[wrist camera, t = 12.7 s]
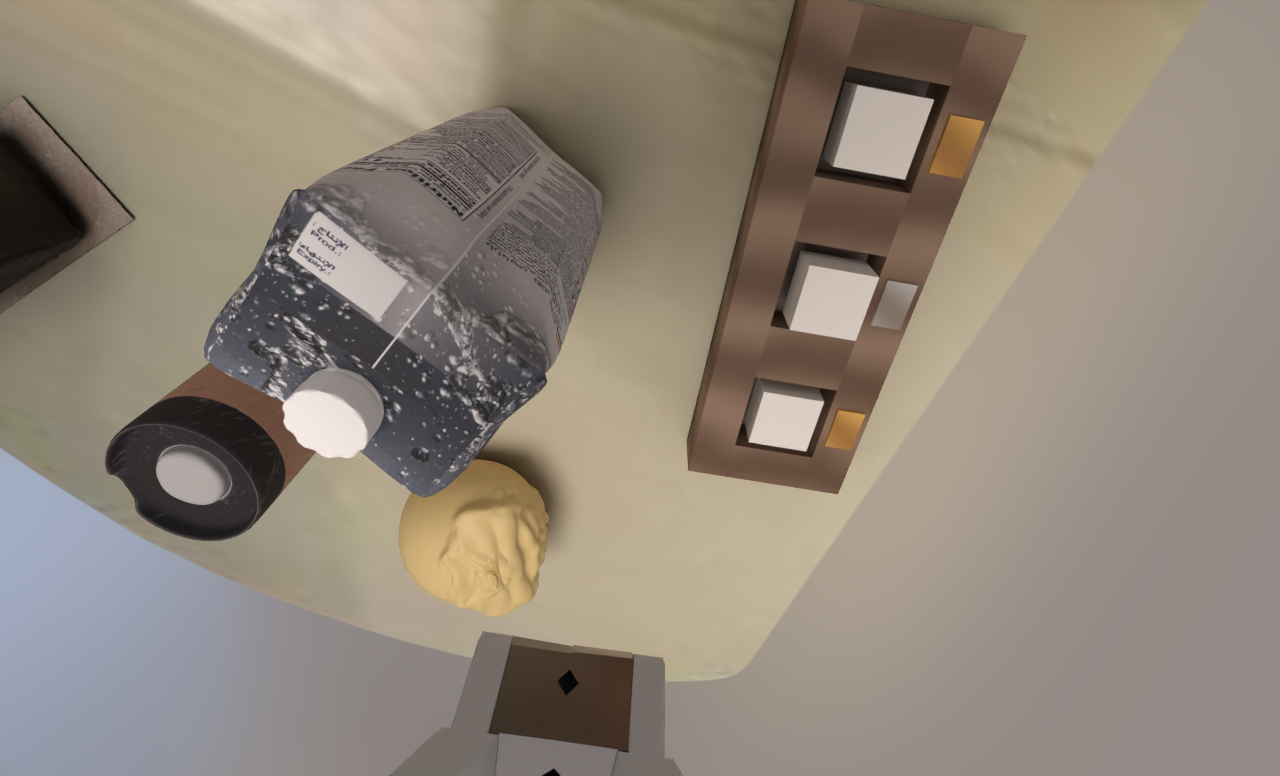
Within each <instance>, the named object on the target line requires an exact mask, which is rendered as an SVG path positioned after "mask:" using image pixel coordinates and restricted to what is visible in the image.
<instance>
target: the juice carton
mask: <svg viewBox="0 0 1280 776" xmlns="http://www.w3.org/2000/svg"><path fill="white" fill-rule="evenodd" d="M602 207H603V199H602V194H601V192H600V191H599V190H598V189H597V188H596V187H595V186H594V185H593V184H592V183H590V182H589V181H588V180H587V179H586V178H585V177H584V176H583V175H581V174H580V173H579V172H578V171H577V170H575V169H574V168H573V167H571V166H570V165H569V164H568V163H566V162H565V161H564V160H563V159H561V158H560V157H559V156H558V155H557V154H555V153H554V152H553V151H552V150H551V149H550V148H549V147H548V146H547V145H546V144H545V143H544V142H543V141H542V140H541V139H540V138H539V137H538V136H537V135H536V134H535V133H534V132H533V131H532V130H531V129H530V128H529V127H528V126H527V125H526V124H525V123H524V122H523V121H522V120H520V119H519V118H518V117H517V116H516V115H515V114H514V113H512V112H511V111H510V110H509V109H507V108H505V107H497V108H490V109H484V110H478V111H474V112H470V113H467V114H464V115H462V116H459V117H457V118H454V119H452V120H450V121H447V122H445V123H443V124H440V125H438V126H436V127H433V128H431V129H429V130H426V131H424V132H422V133H419V134H417V135H415V136H412V137H410V138H408V139H405V140H403V141H401V142H398V143H396V144H394V145H392V146H389V147H387V148H385V149H382V150H380V151H378V152H375V153H373V154H371V155H368V156H366V157H364V158H362V159H359V160H357V161H355V162H353V163H350V164H348V165H346V166H344V167H341V168H339V169H337V170H335V171H333V172H331V173H329V174H327V175H325V176H323V177H322V178H321V179H319V180H318V181H316V182H315V183H313V184H312V185H310V186H309V187H308V188H307V189H306V190H301V189H297V190H293V191H292V192H291V194H290V195H289V197H288V199H287V200H286V202H285V204H284V206H283V208H282V210H281V212H280V215H279V217H278V219H277V221H276V224H275V226H274V228H273V231H272V233H271V235H270V238H269V240H268V242H267V245H266V247H265V249H264V251H263V253H262V255H261V257H260V259H259V261H258V263H257V265H256V267H255V269H254V270H253V272H252V273H251V274H250V276H249V277H248V278H247V279H246V280H245V281H244V283H243V284H242V285H241V286H240V287H239V289H238V290H237V291H236V292H235V293H234V294H233V296H232V297H231V298H230V299H229V301H228V302H227V303H226V305H225V306H224V308H223V309H222V311H221V312H220V314H219V315H218V317H217V318H216V320H215V321H214V323H213V324H212V326H211V328H210V330H209V334H208V337H207V340H206V343H205V346H204V352H205V358H206V359H207V360H208V361H209V362H210V363H211V364H212V365H214V366H215V367H216V368H218V369H219V370H221V371H223V372H225V373H226V374H228V375H230V376H232V377H234V378H235V379H237V380H239V381H241V382H243V383H245V384H247V385H249V386H251V387H253V388H255V389H257V390H259V391H261V392H263V393H265V394H267V395H269V396H271V397H273V398H275V399H277V400H279V401H281V402H283V403H284V404H283V407H282V409H283V411H284V414H285V417H284V421H283V422H284V424H285V427H286V428H287V430H289V431H290V432H292V433H293V434H294V436H295V437H296V439H297V441H298V443H300V444H301V445H302V446H303V447H305V448H309V449H312V450H314V451H316V452H318V453H319V454H320V455H321V456H324V457H328V458H334V457H344V458H350V457H353V456H355V455H356V454H357V453H358V452H359V451H361V452H362V453H363V454H364V455H365V456H367V457H368V458H369V459H370V460H371V461H373V462H374V463H375V464H376V465H378V466H379V467H380V468H381V469H382V470H384V471H385V472H386V473H387V474H388V475H390V476H391V477H392V478H394V479H395V480H396V481H397V482H399V483H400V484H401V485H403V486H404V487H405V488H407V489H408V490H410V491H411V492H413V493H414V494H417V495H419V496H421V497H424V498H425V497H429V496H432V495H435V494H436V493H438V492H439V491H441V490H442V489H444V488H446V487H447V486H448V485H450V484H451V483H452V482H453V481H454V480H455V479H456V478H457V477H458V476H459V475H460V474H461V473H462V472H463V471H464V470H465V469H466V468H467V467H468V466H469V465H470V464H471V462H472V461H473V460H474V459H475V458H476V456H477V455H478V454H479V453H480V452H481V451H482V449H483V448H484V447H485V445H486V444H487V443H488V441H489V440H490V439H491V437H492V436H493V435H494V434H495V432H496V431H497V430H498V428H499V427H500V426H501V424H502V423H503V422H504V421H505V420H506V419H507V418H508V417H509V416H511V415H512V414H513V413H514V412H515V411H517V410H518V409H519V408H521V407H522V406H523V405H524V404H526V403H527V402H528V401H529V400H531V399H532V398H533V397H534V396H535V395H536V394H538V393H539V392H540V391H541V390H542V389H543V388H544V386H545V385H546V383H547V379H546V375H545V373H546V372H547V371H548V370H549V369H550V368H551V366H552V365H553V364H554V362H555V360H556V358H557V356H558V354H559V352H560V350H561V347H562V344H563V342H564V339H565V336H566V333H567V330H568V327H569V324H570V321H571V318H572V315H573V312H574V309H575V306H576V303H577V300H578V297H579V294H580V291H581V288H582V285H583V282H584V279H585V276H586V273H587V270H588V267H589V264H590V261H591V258H592V255H593V252H594V249H595V246H596V243H597V240H598V237H599V233H600V229H601V222H602Z"/></svg>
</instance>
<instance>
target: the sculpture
mask: <svg viewBox="0 0 1280 776" xmlns="http://www.w3.org/2000/svg"><path fill="white" fill-rule="evenodd" d="M548 521H549V516H548V514H547V513H546V512H545V507H544V502H543V500H542V498H541V496H540V494H539V492H538V490H537V489H536V488H534V487H532V486H531V485H529V483H528V482H527V481H526V480H525V479H524V478H523V477H522V476H521V475H520V474H519V473H517V472H516V471H514V470H513V469H511V468H509V467H507V466H505V465H503V464H500V463H497V462H493V461H489V460H480V459H474V460H473V461H472V462H471V464H470V465H469V466H468V467H467V468H466V469H465V470H464V471H463V472H462V473H461V474H460V475H459V476H458V477H457V478H456V479H455V480H454V481H453V482H452V483H451V484H450V485H448V486H447V487H446V488H444V489H442V490H441V491H439V492H438V493H436V494H435V495H432V496H429V497H425V498H424V497H421V496H419V495H417V494H414V493H413V492H412V493H411V495H410V496H409V498H408V500H407V502H406V504H405V506H404V509H403V512H402V515H401V519H400V525H399V547H400V553H401V557H402V560H403V563H404V565H405V567H406V569H407V571H408V573H409V574H410V576H411V577H412V579H413V580H414V581H415V582H416V583H417V584H418V585H419V586H420V587H421V588H422V589H423V590H425V591H426V592H427V593H429V594H431V595H432V596H434V597H436V598H438V599H441V600H444V601H447V602H451V603H455V604H456V606H457V607H458V608H461V609H466V608H468V609H473V608H474V609H476V610H478V611H479V612H481V613H482V614H484V615H487V616H490V617H500V616H504V615H506V614H508V613H510V612H512V611H514V610H515V609H517V608H518V607H519V606H520V605H524V604H526V603H528V602H529V601H531V600H532V599H533V597H534V596H535V594H536V591H537V588H538V577H539V572H538V570H539V567H540V566H541V565H542V564H543V562H544V557H545V551H546V535H547V527H546V524H547V523H548Z"/></svg>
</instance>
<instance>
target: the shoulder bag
mask: <svg viewBox="0 0 1280 776" xmlns="http://www.w3.org/2000/svg"><path fill="white" fill-rule="evenodd" d="M132 220H133V218H132V217H131V216H130V215H129V214H128V213H127V212H126V211H125V210H124V209H123V207H122V206H121V205H120V204H119V203H118V202H117V201H116V200H115V199H114V198H113V197H112V195H111V194H110V193H109V192H108V191H107V189H106V188H105V187H104V186H103V185H102V184H101V183H100V182H99V181H98V180H97V179H96V178H95V176H94V175H93V174H92V173H91V172H90V171H89V170H88V169H87V168H86V167H85V166H84V164H83V163H82V162H81V161H80V160H79V158H78V157H77V156H76V155H75V154H74V153H73V152H72V151H71V150H70V149H69V148H68V147H67V146H66V145H65V144H64V143H63V141H62V140H61V139H60V138H59V137H58V136H57V135H56V134H55V133H54V132H53V130H52V129H51V128H50V127H49V126H48V125H47V124H46V123H45V122H44V121H43V120H42V119H41V118H40V116H39V115H38V114H37V113H36V112H35V111H34V110H33V109H32V108H31V107H30V106H29V105H28V104H27V102H26V101H25V100H24V99H23V98H22V97H21V96H19V97H17V98H16V99H15V100H14V101H13V102H12V103H10V104H9V105H8V106H7V107H5V108H4V109H3V110H2V111H1V112H0V313H1V312H3V311H4V310H6V309H7V308H9V307H10V306H12V305H13V304H14V303H16V302H17V301H19V300H20V299H22V298H23V297H24V296H26V295H27V294H28V293H30V292H31V291H33V290H34V289H36V288H37V287H38V286H40V285H41V284H42V283H44V282H45V281H47V280H48V279H50V278H51V277H52V276H54V275H55V274H57V273H58V272H59V271H61V270H62V269H64V268H65V267H67V266H68V265H69V264H71V263H72V262H74V261H75V260H76V259H78V258H79V257H81V256H82V255H83V254H85V253H86V252H88V251H89V250H90V249H92V248H94V247H95V246H96V245H98V244H99V243H101V242H102V241H104V240H105V239H107V238H108V237H109V236H111V235H112V234H114V233H115V232H117V231H118V230H119V229H121V228H122V227H124V226H125V225H126V224H128V223H129V222H131V221H132Z"/></svg>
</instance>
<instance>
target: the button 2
mask: <svg viewBox="0 0 1280 776" xmlns="http://www.w3.org/2000/svg"><path fill="white" fill-rule="evenodd" d="M933 102H934V99H930V98H926V97H923V96H919V95H915V94H910V93H905V92H900V91H894V90H889V89H884V88H879V87H873V86H868V85H863V84H858V83H852V82H847V81H845V82H844V86H843V89H842V92H841V96H840V99H839V103H838V106H837V109H836V113H835V116H834V120H833V123H832V126H831V130H830V133H829V136H828V140H827V143H826V147H825V150H824V153H823V157H822V158H824V159H825V160H826V161H827V162H828V163H829V164H831V165H832V166H833V167H838V168H844V169H849V170H855V171H860V172H866V173H871V174H877V175H882V176H887V177H893V178H898V179H904V180H905V179H906V176H907V173H908V170H909V168H910V165H911V162H912V159H913V157H914V154H915V151H916V148H917V146H918V143H919V140H920V137H921V135H922V132H923V129H924V127H925V124H926V121H927V118H928V116H929V113H930V110H931V107H932V105H933Z"/></svg>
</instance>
